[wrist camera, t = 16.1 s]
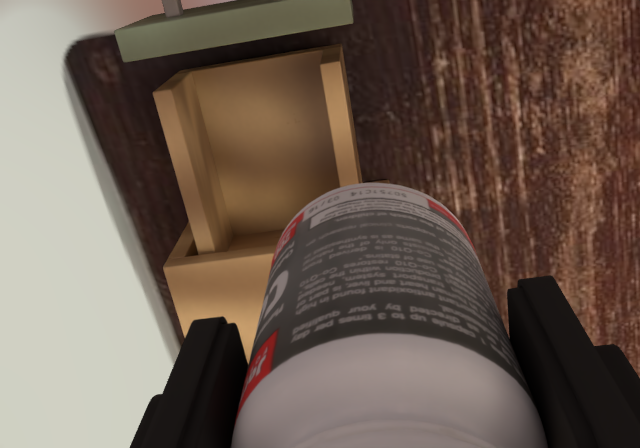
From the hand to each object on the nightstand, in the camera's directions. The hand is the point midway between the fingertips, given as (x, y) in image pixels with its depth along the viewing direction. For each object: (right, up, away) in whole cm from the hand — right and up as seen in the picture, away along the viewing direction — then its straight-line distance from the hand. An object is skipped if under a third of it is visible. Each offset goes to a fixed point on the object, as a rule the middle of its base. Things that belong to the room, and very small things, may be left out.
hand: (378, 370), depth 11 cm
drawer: (-4, +10, +17) cm, 20 cm away
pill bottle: (0, +2, +4) cm, 4 cm away
